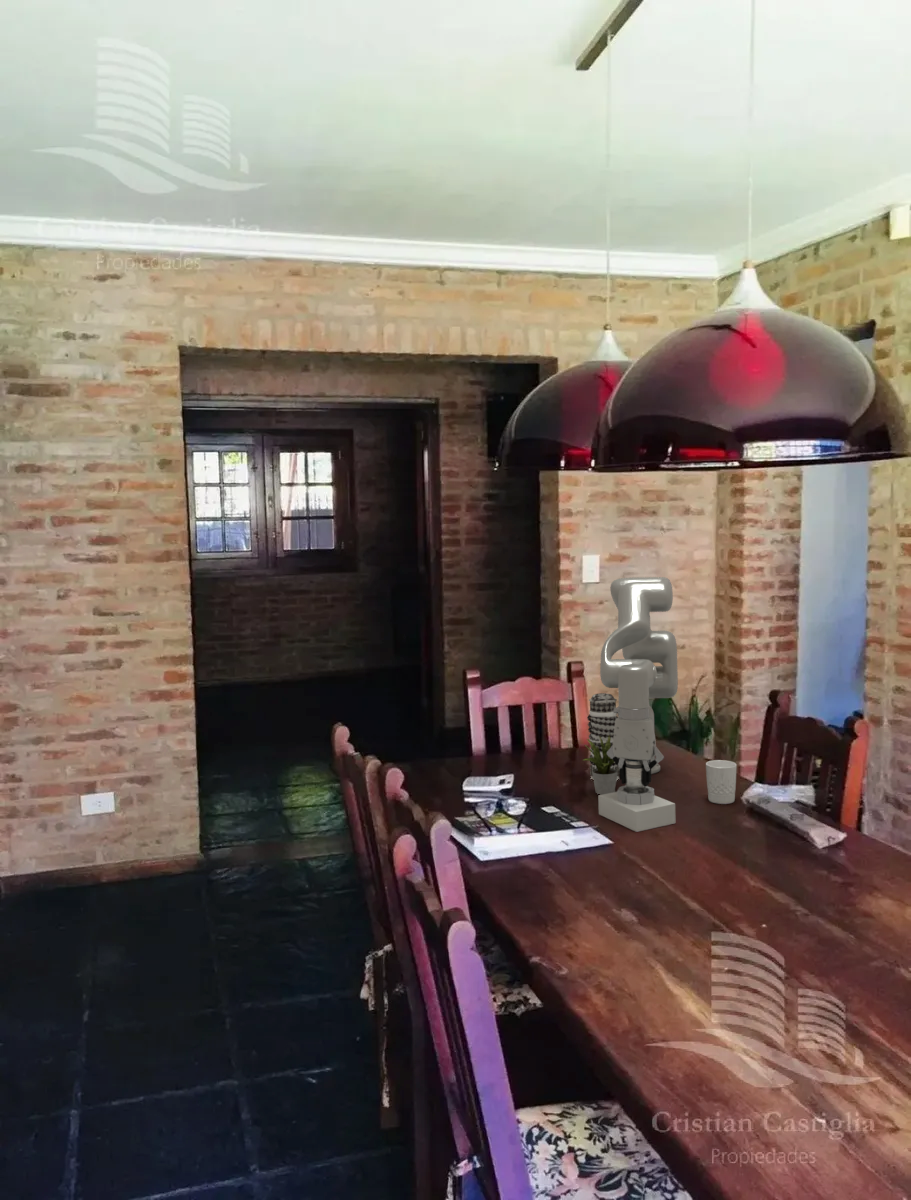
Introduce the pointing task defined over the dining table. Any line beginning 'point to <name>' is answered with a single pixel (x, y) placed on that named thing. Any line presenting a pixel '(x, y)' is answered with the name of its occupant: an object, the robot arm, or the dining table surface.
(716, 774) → the white cup
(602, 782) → the house plant
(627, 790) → the lens
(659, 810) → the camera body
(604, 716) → the decorative candle
